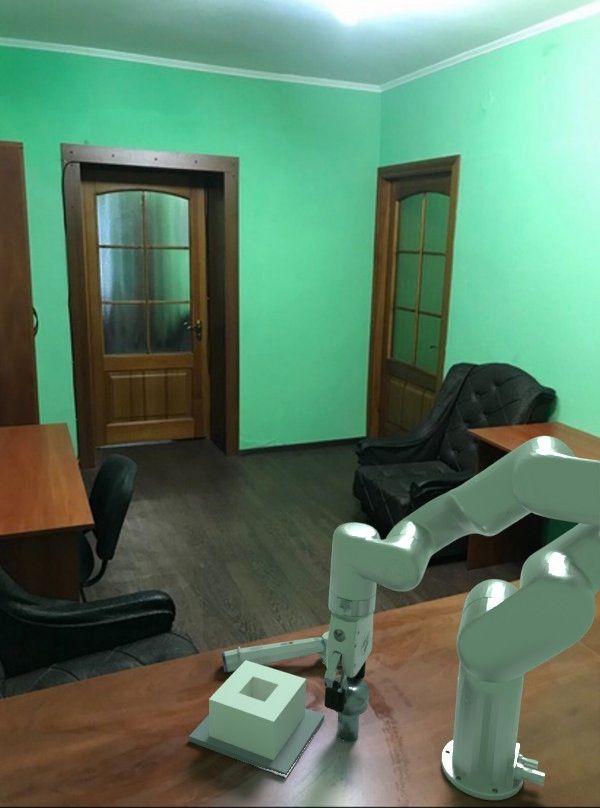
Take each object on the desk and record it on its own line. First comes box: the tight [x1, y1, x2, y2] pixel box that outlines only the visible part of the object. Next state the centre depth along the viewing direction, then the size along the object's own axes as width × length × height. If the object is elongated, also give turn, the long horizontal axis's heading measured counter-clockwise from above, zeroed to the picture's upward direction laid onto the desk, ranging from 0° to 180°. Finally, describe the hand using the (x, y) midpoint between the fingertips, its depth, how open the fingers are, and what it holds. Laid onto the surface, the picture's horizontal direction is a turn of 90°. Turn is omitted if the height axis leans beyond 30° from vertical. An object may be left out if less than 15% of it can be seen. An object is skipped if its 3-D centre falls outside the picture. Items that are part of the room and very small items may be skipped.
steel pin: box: [335, 675, 370, 743], centre depth 111 cm, size 6×6×9 cm
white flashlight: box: [221, 630, 340, 674], centre depth 130 cm, size 5×7×25 cm
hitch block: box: [188, 660, 325, 775], centre depth 111 cm, size 18×15×8 cm
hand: (345, 691), depth 110 cm, fingers open, 9 cm apart
